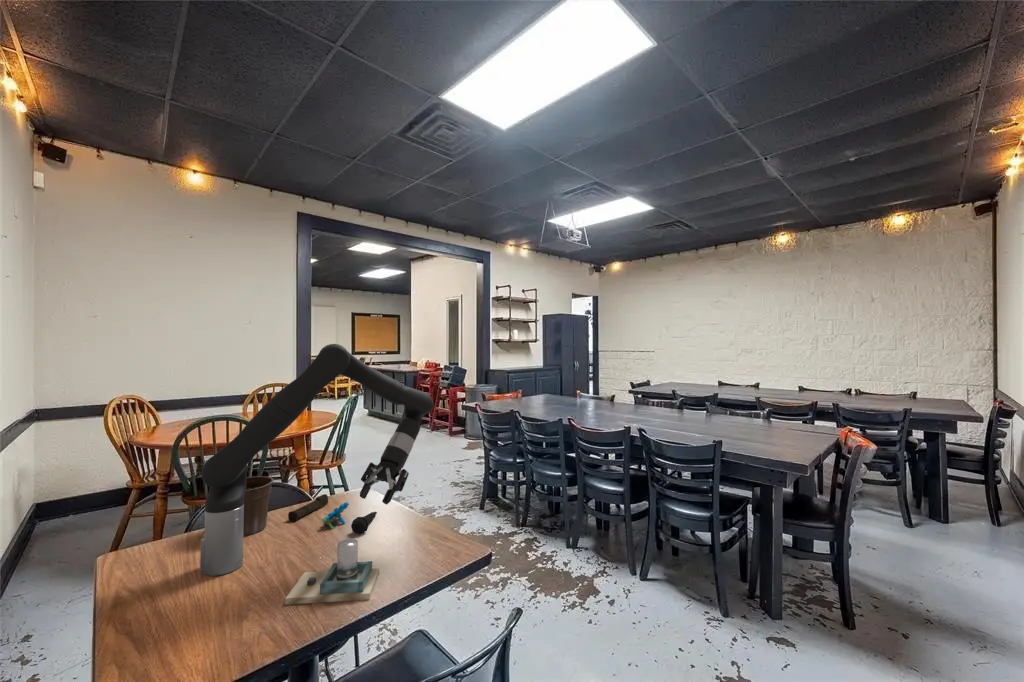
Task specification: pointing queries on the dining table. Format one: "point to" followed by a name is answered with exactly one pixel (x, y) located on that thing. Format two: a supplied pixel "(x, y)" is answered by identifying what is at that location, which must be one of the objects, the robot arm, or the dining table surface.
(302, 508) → the dark brown rod
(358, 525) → the microphone
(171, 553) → the dining table surface
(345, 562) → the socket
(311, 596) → the beige board with frame
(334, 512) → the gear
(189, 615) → the dining table surface
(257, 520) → the plant pot
